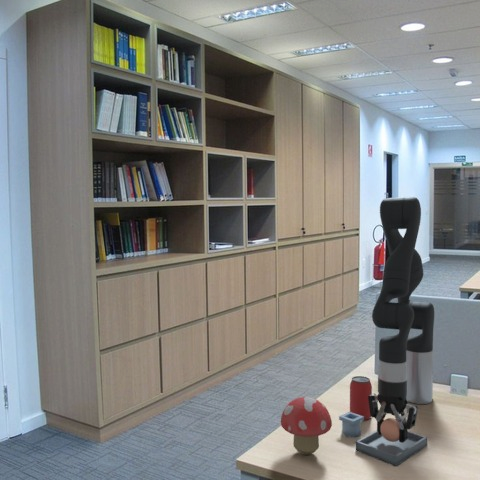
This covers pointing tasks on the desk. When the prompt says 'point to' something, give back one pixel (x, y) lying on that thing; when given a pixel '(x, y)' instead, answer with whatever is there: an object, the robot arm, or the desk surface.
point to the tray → (391, 447)
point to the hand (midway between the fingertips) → (391, 437)
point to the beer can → (360, 396)
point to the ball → (390, 429)
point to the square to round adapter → (351, 424)
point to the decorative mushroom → (306, 423)
